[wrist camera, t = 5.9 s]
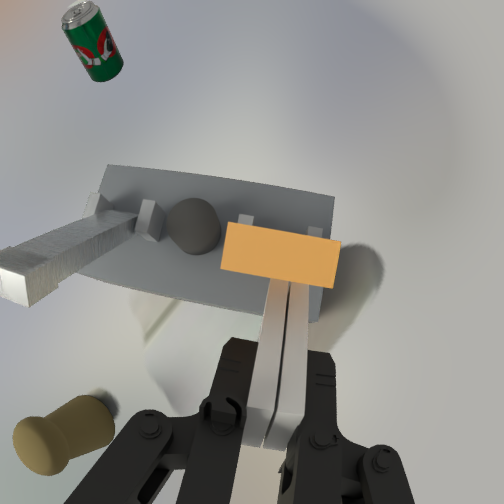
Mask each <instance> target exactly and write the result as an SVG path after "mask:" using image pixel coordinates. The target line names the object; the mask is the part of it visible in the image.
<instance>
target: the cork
mask: <svg viewBox="0 0 504 504" xmlns="http://www.w3.org/2000/svg"><path fill="white" fill-rule="evenodd" d="M114 434H115V423H114V420H113V417H112V415H111V413H110V412H109V410H108V408H107V407H106V406H105V405H104V404H103V403H102V402H101V401H99V400H97V399H96V398H94V397H91V396H87V395H81V396H77V397H76V398H74V399H72V400H70V401H69V402H68V403H66V404H65V405H63V406H61V407H60V408H58V409H57V410H55V411H54V412H52V413H50V414H49V415H47V416H46V417H44V418H43V417H27V418H25V419H23V420H21V421H20V422H19V423H18V424H17V425H16V427H15V429H14V433H13V445H14V448H15V450H16V453H17V455H18V456H19V458H20V460H21V461H22V462H23V463H24V465H25V466H26V467H28V468H29V469H30V470H31V471H33V472H35V473H37V474H40V475H45V476H52V475H55V474H58V473H60V472H61V471H63V469H64V468H65V467H66V466H67V464H68V462H69V460H70V459H73V458H75V457H78V456H81V455H84V454H87V453H89V452H92V451H94V450H97V449H99V448H102V447H105V446H107V445H109V443H110V442H111V441H112V440H113V438H114Z"/></svg>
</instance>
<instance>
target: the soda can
mask: <svg viewBox="0 0 504 504" xmlns="http://www.w3.org/2000/svg"><path fill="white" fill-rule="evenodd" d="M61 21H62V30H63V31H64V33H65V34H66V37H67V38H68V40H69V42H70V43H71V45H72V47H73V49H74V50H75V52H76V54H77V55H78V57H79V59H80V60H81V62H82V64H83V65H84V67H85V69H86V71H87V72H88V74H89V75H90V77H91V79H92V80H93V81H96V82H105V81H109V80H111V79H112V78H114V77H115V76H116V75H118V73H119V72H120V71H121V69H122V67H123V59H122V57H121V55H120V53H119V51H118V48H117V46H116V44H115V42H114V40H113V37H112V35H111V33H110V31H109V29H108V26H107V24H106V22H105V19H104V17H103V15H102V13H101V11H100V8H99V7H98V6H97V5H94V3H93V2H92V1H87V2H83V3H80V4H78V5H76V6H74V7H73V8H71V9H70V10H68V11H67V12H66V13H65V14H64V15H63V17H62V20H61Z"/></svg>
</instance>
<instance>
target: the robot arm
mask: <svg viewBox="0 0 504 504" xmlns="http://www.w3.org/2000/svg"><path fill="white" fill-rule="evenodd" d="M288 282H289V281H285V280H279V279H274V278H270V283H269V288H268V293H267V298H266V303H265V309H264V314H263V318H262V324H261V329H260V335H259V340H258V342H254V341H249V340H244V339H239V338H234V337H232V338H231V339H230V340H229V341H228V342H227V343H226V344H225V345H224V346H223V349H222V353H221V356H220V360H219V363H218V367H217V370H216V373H215V377H214V380H213V384H212V387H211V391H210V394H209V396H208V397H207V398H205V399H204V400H203V401H202V403H201V405H200V406H199V412H198V413H197V414H194V415H192V416H187V417H167V416H166V415H164V414H163V413H162V412H159V411H156V410H143V411H140V412H137V413H136V414H135V415H134V416H132V417H131V419H130V420H129V421H128V422H127V424H126V425H125V426H124V428H123V429H122V430H121V432H120V433H119V434H118V435H117V436H116V438H115V439H114V440H113V442H112V443H111V444H110V445H109V447H108V448H107V449H106V451H105V452H104V453H103V454H102V456H101V457H100V458H99V459H98V461H97V462H96V463H95V465H94V466H93V467H92V469H91V470H90V471H89V472H88V473H87V475H86V476H85V477H84V479H83V480H82V481H81V482H80V484H79V485H78V486H77V487H76V489H75V490H74V491H73V492H72V494H71V495H70V496H69V498H68V499H67V500H66V501H65V502H64V504H152V503H153V501H154V500H155V498H156V497H157V495H158V494H159V492H160V491H161V489H162V488H163V486H164V485H165V483H166V481H167V480H168V478H169V477H170V475H171V473H172V472H173V471H174V470H178V469H185V473H184V476H183V480H182V483H181V487H180V491H179V494H178V498H177V501H176V504H229V503H230V498H231V493H232V488H233V483H234V477H235V473H236V468H237V463H238V457H239V452H240V447H241V444H242V445H247V446H253V447H259V448H260V446H261V443H262V441H263V438H264V436H265V438H264V445H263V448H266V449H272V450H279V451H285V450H286V448H287V453H286V459H285V461H284V462H283V464H282V465H281V467H280V469H279V472H278V473H281V480H280V487H279V494H278V501H277V504H415V503H414V499H413V496H412V493H411V489H410V486H409V483H408V480H407V477H406V474H405V471H404V468H403V465H402V462H401V459H400V457H399V455H398V453H397V451H395V450H394V449H393V448H392V447H390V446H387V445H375V446H373V447H371V448H366V447H364V446H361V445H358V444H355V443H353V442H350V441H349V440H347V439H346V438H345V437H344V436H343V435H342V434H341V432H340V431H339V429H338V426H337V414H336V413H337V411H336V410H337V409H336V379H335V377H336V369H335V363H334V361H333V359H332V357H331V355H330V353H325V352H318V351H311V350H307V349H308V312H309V285H308V284H303V283H297V282H291V281H290V285H289V289H288Z"/></svg>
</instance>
